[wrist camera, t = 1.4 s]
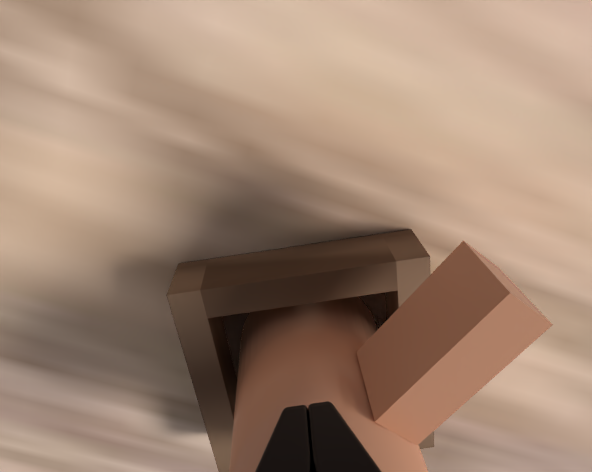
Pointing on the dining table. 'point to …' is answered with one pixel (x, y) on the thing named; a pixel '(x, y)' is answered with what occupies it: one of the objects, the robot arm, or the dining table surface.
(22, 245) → the dining table surface
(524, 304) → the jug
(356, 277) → the socket
